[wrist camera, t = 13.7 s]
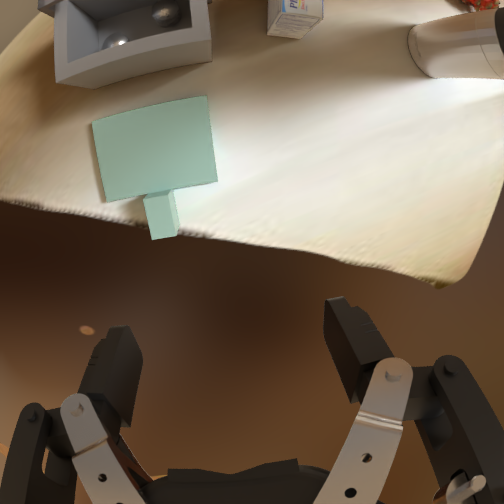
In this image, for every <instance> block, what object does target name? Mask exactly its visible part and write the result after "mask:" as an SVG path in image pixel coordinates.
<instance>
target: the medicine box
mask: <svg viewBox="0 0 504 504" xmlns="http://www.w3.org/2000/svg"><path fill="white" fill-rule="evenodd" d="M321 20H323V0H268V23H267V35H270V36H280V37H289V38H297V39H301V38H302V37H303V36H304V35H305V34H307V33H308V32H309V31H310V30H311V29H312V28H313V27H315V26H316V25H317V24H318V23H319V22H320V21H321Z"/></svg>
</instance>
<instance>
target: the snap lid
mask: <svg viewBox="0 0 504 504" xmlns="http://www.w3.org/2000/svg"><path fill="white" fill-rule="evenodd" d="M92 128H93V134H94V141H95V147H96V152H97V158H98V163H99V168H100V173H101V178H102V183H103V187H104V192H105V196H106V200H107V202H111V201H115V200H120V199H124V198H129V197H134V196H139V195H144V194H147V195H146V196H145V198H144V199H143V202H144V207H145V211H146V216H147V220H148V224H149V229H150V233H151V236H152V239H153V240H154V239H160V238H166V237H172V236H176V235H177V232H178V229H179V226H180V222H179V217H178V212H177V207H176V202H175V197H174V191H173V189H175V188H181V187H187V186H193V185H199V184H205V183H212V182H218V177H217V170H216V163H215V156H214V148H213V140H212V133H211V125H210V117H209V109H208V101H207V95H204V96H198V97H192V98H186V99H180V100H175V101H170V102H165V103H160V104H155V105H151V106H147V107H142V108H138V109H134V110H130V111H126V112H123V113H119V114H115V115H112V116H108V117H105V118H102V119H99V120H95V121H92Z"/></svg>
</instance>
